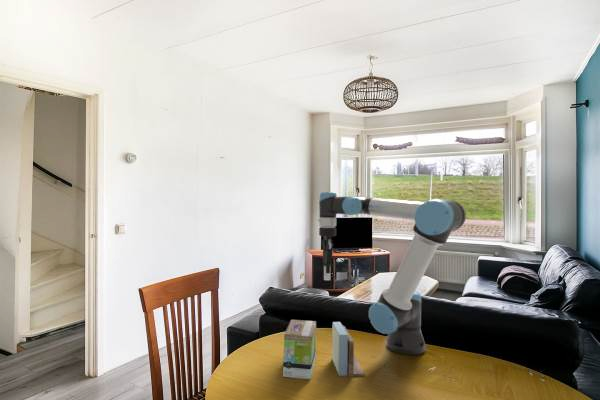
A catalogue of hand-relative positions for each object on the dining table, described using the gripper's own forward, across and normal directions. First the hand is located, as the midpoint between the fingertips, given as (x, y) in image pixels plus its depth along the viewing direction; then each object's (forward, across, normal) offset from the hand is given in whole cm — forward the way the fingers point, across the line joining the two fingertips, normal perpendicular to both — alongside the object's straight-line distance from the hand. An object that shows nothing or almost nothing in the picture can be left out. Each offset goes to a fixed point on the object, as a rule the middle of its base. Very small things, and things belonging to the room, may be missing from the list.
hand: (327, 279), depth 151 cm
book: (+24, +29, -1) cm, 38 cm away
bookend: (+24, +29, +4) cm, 38 cm away
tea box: (+25, +28, -15) cm, 40 cm away
